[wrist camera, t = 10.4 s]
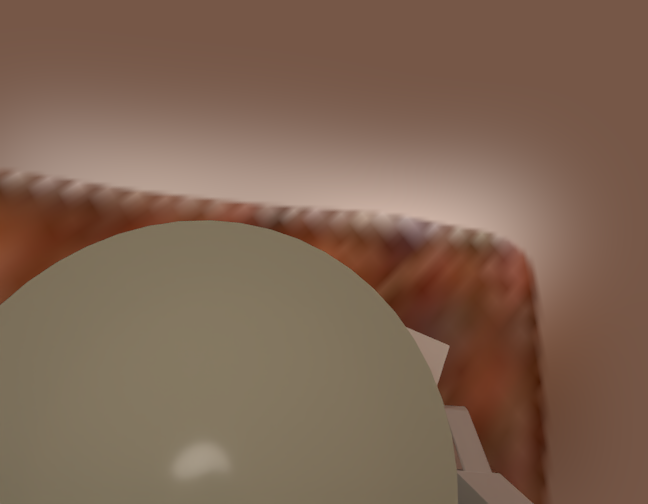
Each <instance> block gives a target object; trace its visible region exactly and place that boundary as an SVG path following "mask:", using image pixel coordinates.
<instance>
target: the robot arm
mask: <svg viewBox="0 0 648 504" xmlns="http://www.w3.org/2000/svg"><path fill="white" fill-rule="evenodd" d="M444 407H445V411H446V415H447V419H448V423H449V426H450V430H451V434H452V440H453V447H454V454H455V461H456V468H457V486H458V504H533V503H532V502H531V501H530V500H529V499H528V498H527V497H525V496H524V495H523V494H522V493H521V492H520V491H519V490H518V489H517V488H515V487H514V486H513V485H512V484H511V483H510V482H509V481H508V480H507V479H505V478H504V477H503V476H502V475H501V474H500V473H492V471H491V468H490V466H489V463H488V461H487V458H486V455H485V453H484V450H483V448H482V445H481V443H480V440H479V437H478V435H477V432H476V430H475V427H474V425H473V422H472V420H471V417H470V414H469V412H468V410H467V409H466V408H465V407H464V406H447V405H444Z"/></svg>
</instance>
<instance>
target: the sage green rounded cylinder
mask: <svg viewBox="0 0 648 504" xmlns="http://www.w3.org/2000/svg"><path fill="white" fill-rule="evenodd" d="M0 504H458V486H457V468H456V461H455V454H454V447H453V440H452V434H451V430H450V426H449V423H448V419H447V415H446V411H445V407H444V404H443V400H442V398H441V395H440V392H439V390H438V387H437V385H436V382H435V380H434V377H433V375H432V372H431V370H430V367H429V366H428V364H427V362H426V360H425V358H424V356H423V354H422V353H421V351H420V349H419V347H418V345H417V343H416V342H415V340H414V338H413V337H412V335H411V334H410V332H409V331H408V330H407V328H406V327H405V325H404V324H403V323H402V321H401V320H400V318H399V317H398V315H397V314H396V313H395V311H394V310H393V309H392V308H391V307H390V306H389V305H388V304H387V303H386V302H385V301H384V299H383V298H382V297H381V296H380V295H379V294H378V293H377V292H376V291H375V290H374V289H373V288H372V287H371V286H370V285H369V284H368V283H366V282H365V281H364V280H363V279H362V278H360V277H359V276H358V275H357V274H356V273H355V272H353V271H352V270H351V269H350V268H348V267H347V266H345V265H344V264H342V263H341V262H339V261H338V260H336V259H335V258H333V257H332V256H330V255H328V254H327V253H325V252H324V251H321V250H319V249H317V248H315V247H313V246H311V245H309V244H307V243H305V242H303V241H301V240H299V239H297V238H294V237H291V236H288V235H285V234H282V233H279V232H276V231H273V230H271V229H266V228H261V227H257V226H252V225H247V224H243V223H234V222H223V221H211V220H208V221H179V222H172V223H166V224H159V225H152V226H147V227H143V228H140V229H136V230H132V231H128V232H125V233H121V234H117V235H115V236H112V237H110V238H107V239H105V240H102V241H100V242H97V243H95V244H92V245H89V246H87V247H85V248H83V249H81V250H79V251H77V252H76V253H74V254H72V255H70V256H68V257H66V258H64V259H62V260H60V261H58V262H57V263H55V264H54V265H52V266H51V267H49V268H48V269H46V270H45V271H43V272H42V273H40V274H39V275H37V276H36V277H34V278H33V279H31V280H30V281H28V282H27V283H26V284H25V285H23V286H22V287H21V288H20V289H19V290H18V291H16V292H15V293H14V294H13V295H12V296H10V297H9V298H8V299H7V300H6V301H4V302H3V303H2V304H1V305H0Z"/></svg>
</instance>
